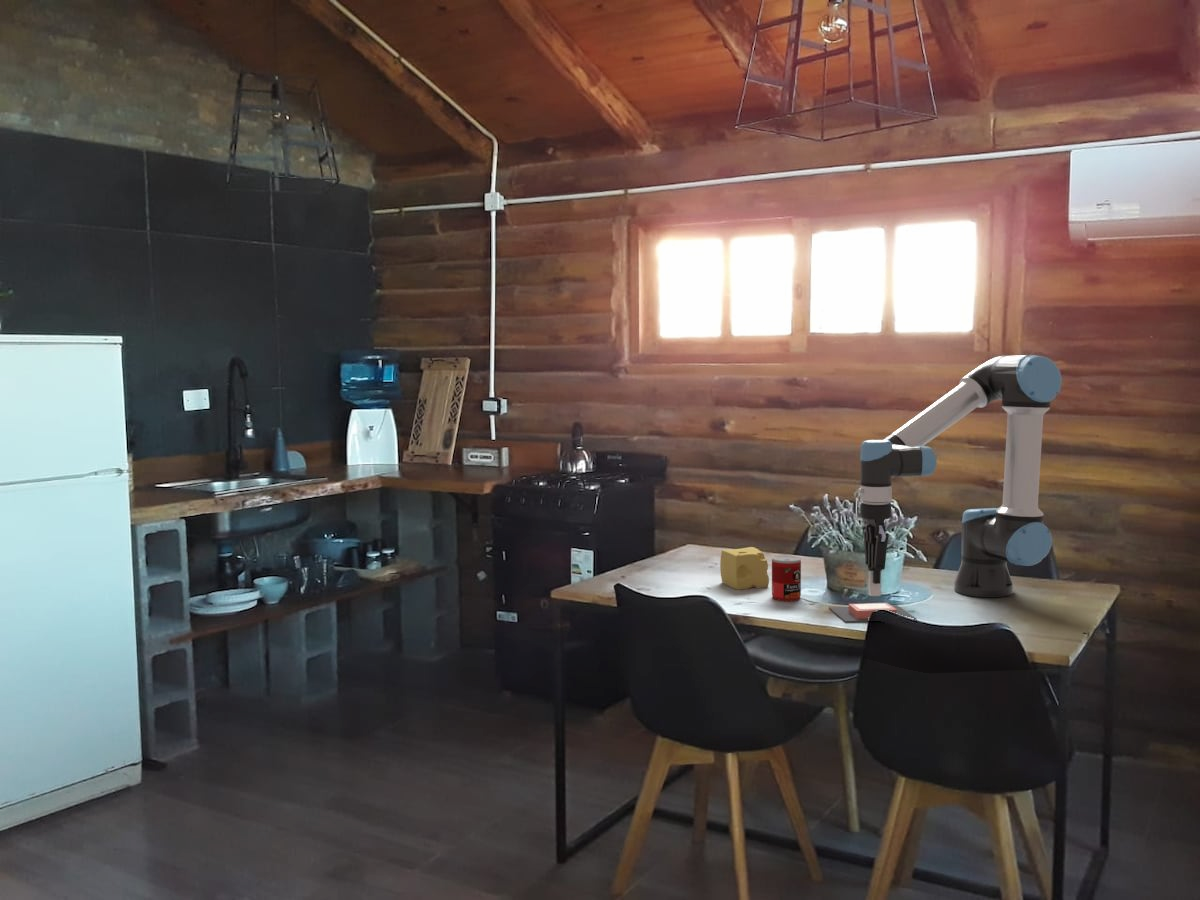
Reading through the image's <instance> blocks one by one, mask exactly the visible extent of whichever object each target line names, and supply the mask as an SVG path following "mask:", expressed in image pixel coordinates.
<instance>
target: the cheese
mask: <svg viewBox="0 0 1200 900" xmlns="http://www.w3.org/2000/svg"><path fill="white" fill-rule="evenodd" d="M763 552H764V551H761V550H760V549H758V548H756V547H753V546H749V547H742V548H736V549H735V548H734V549H723V550H721V553H720V561H719V563H720V564H719V565H720V566H719V567H720V569H719V570H720V578H721V583H722V584H724V585H726V586H729V587H731V588H732V589H735V590H737V591H739V590H748V589H751V588H757V589H758V588H759V589H761V588H768V587H769V584H770V578H769V574H768V569H769V564H768V561H767V559H766V557H765V554H764V553H763Z"/></svg>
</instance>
